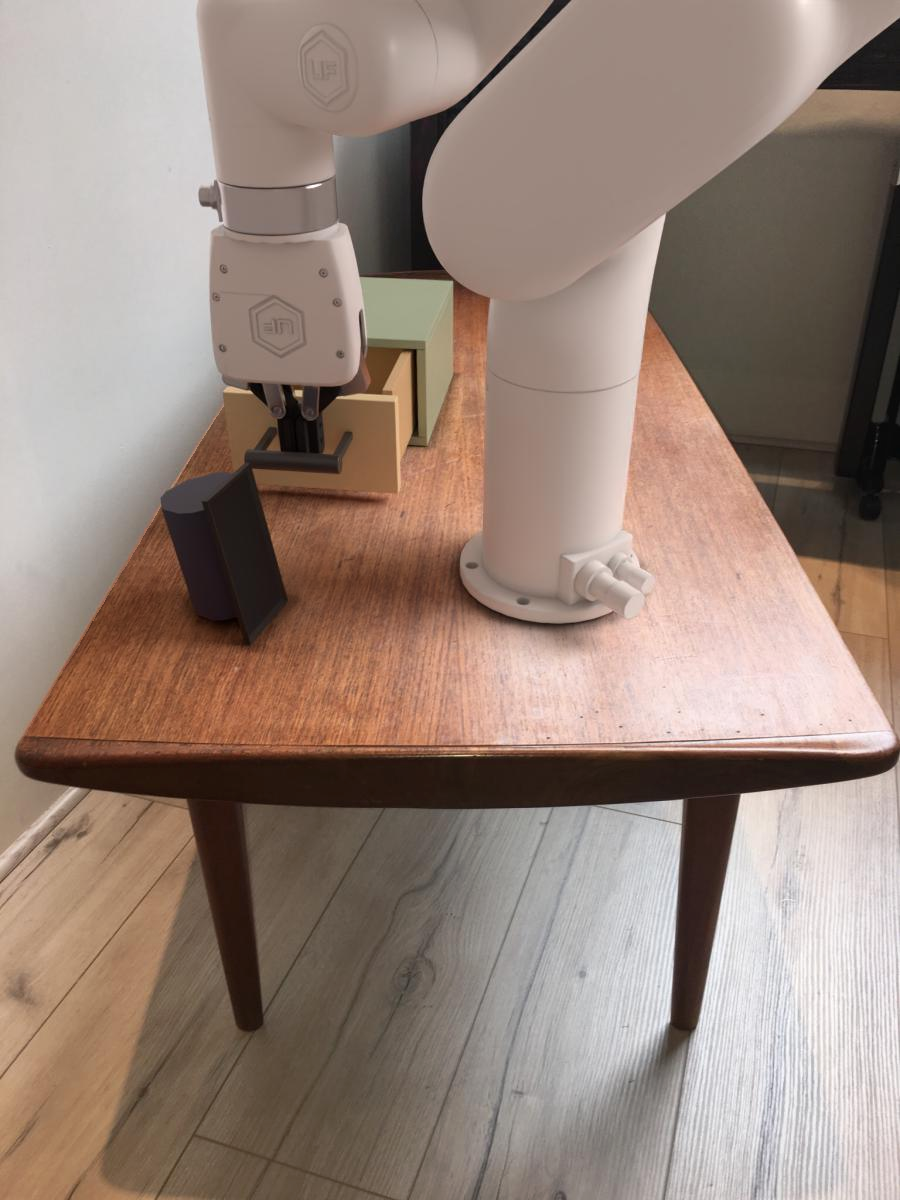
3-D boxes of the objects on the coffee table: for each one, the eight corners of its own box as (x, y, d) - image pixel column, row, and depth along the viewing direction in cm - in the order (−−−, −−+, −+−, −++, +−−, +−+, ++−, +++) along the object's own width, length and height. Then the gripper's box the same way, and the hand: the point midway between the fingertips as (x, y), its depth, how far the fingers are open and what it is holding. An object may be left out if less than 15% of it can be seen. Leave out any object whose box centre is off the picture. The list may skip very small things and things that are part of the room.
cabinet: (427, 446, 87) (425, 340, 82) (267, 436, 89) (255, 332, 84) (453, 375, 101) (453, 280, 96) (313, 368, 103) (305, 274, 97)
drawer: (384, 530, 74) (380, 434, 69) (210, 518, 75) (196, 423, 71) (429, 414, 91) (428, 330, 87) (287, 405, 93) (279, 323, 88)
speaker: (313, 603, 67) (282, 464, 61) (249, 647, 63) (209, 503, 58) (240, 574, 71) (205, 441, 66) (176, 613, 68) (133, 477, 62)
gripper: (147, 217, 62) (191, 478, 73) (379, 225, 60) (391, 492, 71) (190, 190, 68) (226, 434, 79) (403, 196, 67) (410, 446, 77)
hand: (304, 461), depth 75 cm, fingers closed
